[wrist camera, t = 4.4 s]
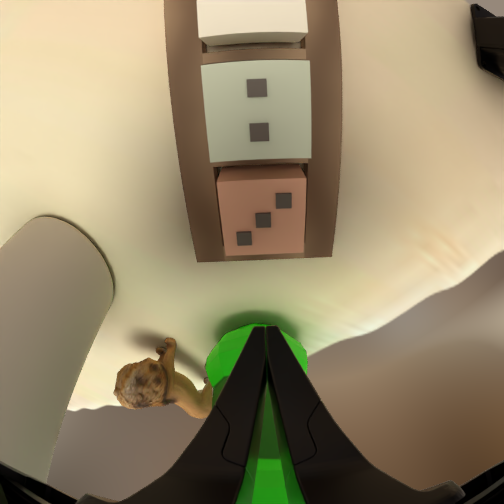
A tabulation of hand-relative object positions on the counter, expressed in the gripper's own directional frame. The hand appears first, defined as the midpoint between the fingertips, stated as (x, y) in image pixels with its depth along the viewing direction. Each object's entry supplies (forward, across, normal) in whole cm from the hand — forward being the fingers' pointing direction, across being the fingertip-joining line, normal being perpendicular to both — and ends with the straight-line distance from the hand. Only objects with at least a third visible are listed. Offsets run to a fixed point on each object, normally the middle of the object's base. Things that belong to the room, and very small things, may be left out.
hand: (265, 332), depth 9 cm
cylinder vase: (+12, +20, +5) cm, 24 cm away
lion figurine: (+12, +10, +19) cm, 25 cm away
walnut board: (+12, 0, -7) cm, 13 cm away
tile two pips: (+10, 0, -7) cm, 12 cm away
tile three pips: (+11, 0, 0) cm, 11 cm away
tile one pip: (+10, 0, -13) cm, 17 cm away
